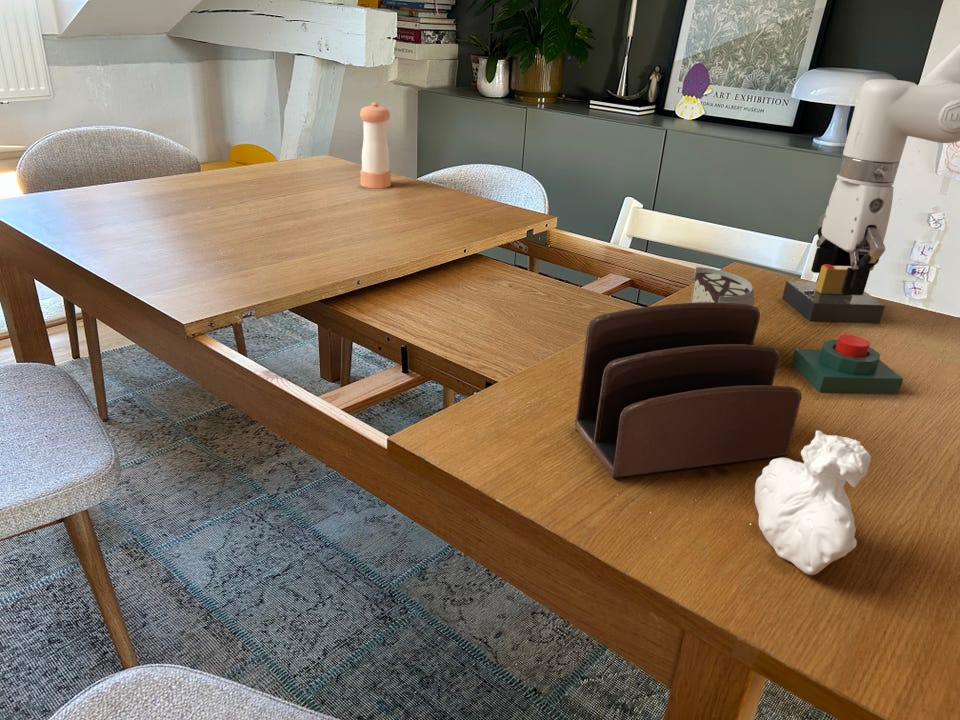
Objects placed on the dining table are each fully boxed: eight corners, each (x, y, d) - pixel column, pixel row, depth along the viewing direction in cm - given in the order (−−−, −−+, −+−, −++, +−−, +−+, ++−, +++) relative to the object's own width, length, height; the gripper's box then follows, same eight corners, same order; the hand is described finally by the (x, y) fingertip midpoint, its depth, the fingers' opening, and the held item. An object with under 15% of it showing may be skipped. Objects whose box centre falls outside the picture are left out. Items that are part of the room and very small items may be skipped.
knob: (847, 290, 115) (854, 264, 113) (853, 294, 113) (860, 268, 111) (815, 289, 115) (822, 263, 113) (820, 293, 113) (827, 267, 111)
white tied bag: (830, 611, 59) (945, 520, 56) (772, 569, 56) (890, 471, 53) (763, 518, 70) (857, 437, 67) (712, 478, 67) (807, 392, 64)
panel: (847, 299, 120) (852, 281, 119) (879, 323, 111) (885, 304, 110) (781, 298, 119) (786, 279, 118) (809, 321, 110) (814, 302, 109)
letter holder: (572, 428, 79) (587, 305, 73) (733, 410, 84) (759, 295, 78) (612, 481, 70) (632, 347, 64) (788, 458, 75) (823, 332, 69)
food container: (754, 374, 93) (771, 300, 89) (705, 372, 93) (721, 298, 89) (725, 335, 104) (740, 268, 100) (682, 333, 104) (695, 265, 100)
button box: (864, 365, 97) (872, 338, 95) (898, 394, 90) (908, 365, 88) (791, 364, 96) (798, 336, 95) (819, 392, 89) (827, 363, 87)
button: (856, 347, 93) (860, 334, 92) (871, 359, 90) (875, 346, 89) (829, 346, 93) (833, 334, 92) (843, 359, 90) (847, 346, 89)
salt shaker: (393, 188, 177) (393, 104, 168) (362, 188, 175) (361, 104, 166) (388, 181, 183) (387, 100, 175) (358, 181, 181) (356, 100, 173)
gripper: (927, 185, 98) (889, 304, 106) (861, 160, 114) (832, 265, 121) (873, 182, 98) (839, 302, 105) (814, 158, 113) (788, 264, 121)
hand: (835, 282), depth 113 cm, fingers open, 9 cm apart
